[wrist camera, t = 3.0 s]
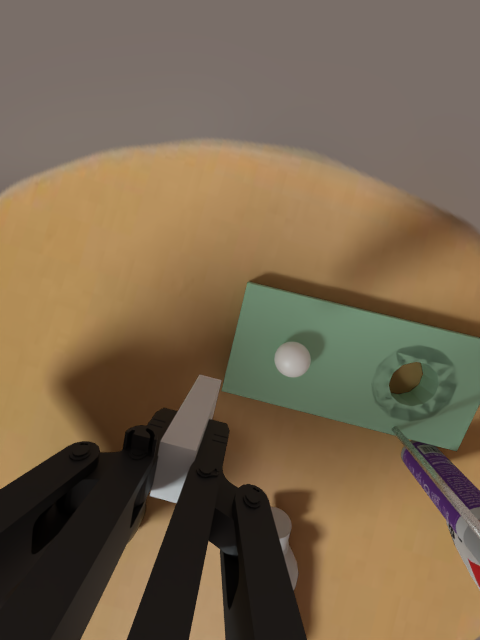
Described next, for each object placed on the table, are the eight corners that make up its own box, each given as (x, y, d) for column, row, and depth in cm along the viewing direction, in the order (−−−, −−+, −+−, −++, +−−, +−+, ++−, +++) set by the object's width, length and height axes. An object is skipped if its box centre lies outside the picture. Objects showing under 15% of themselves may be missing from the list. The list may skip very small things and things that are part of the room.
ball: (269, 364, 31) (271, 378, 27) (278, 333, 30) (281, 343, 26) (301, 372, 31) (307, 387, 27) (311, 342, 30) (318, 353, 26)
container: (393, 453, 35) (487, 584, 21) (420, 432, 34) (539, 553, 20) (417, 474, 36) (526, 617, 21) (444, 453, 35) (578, 588, 20)
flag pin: (390, 431, 31) (490, 556, 18) (393, 425, 31) (495, 547, 18) (421, 439, 31) (545, 570, 18) (423, 433, 31) (550, 562, 18)
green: (224, 380, 35) (221, 391, 32) (248, 281, 32) (247, 282, 29) (439, 435, 34) (456, 451, 31) (484, 338, 31) (507, 345, 28)
